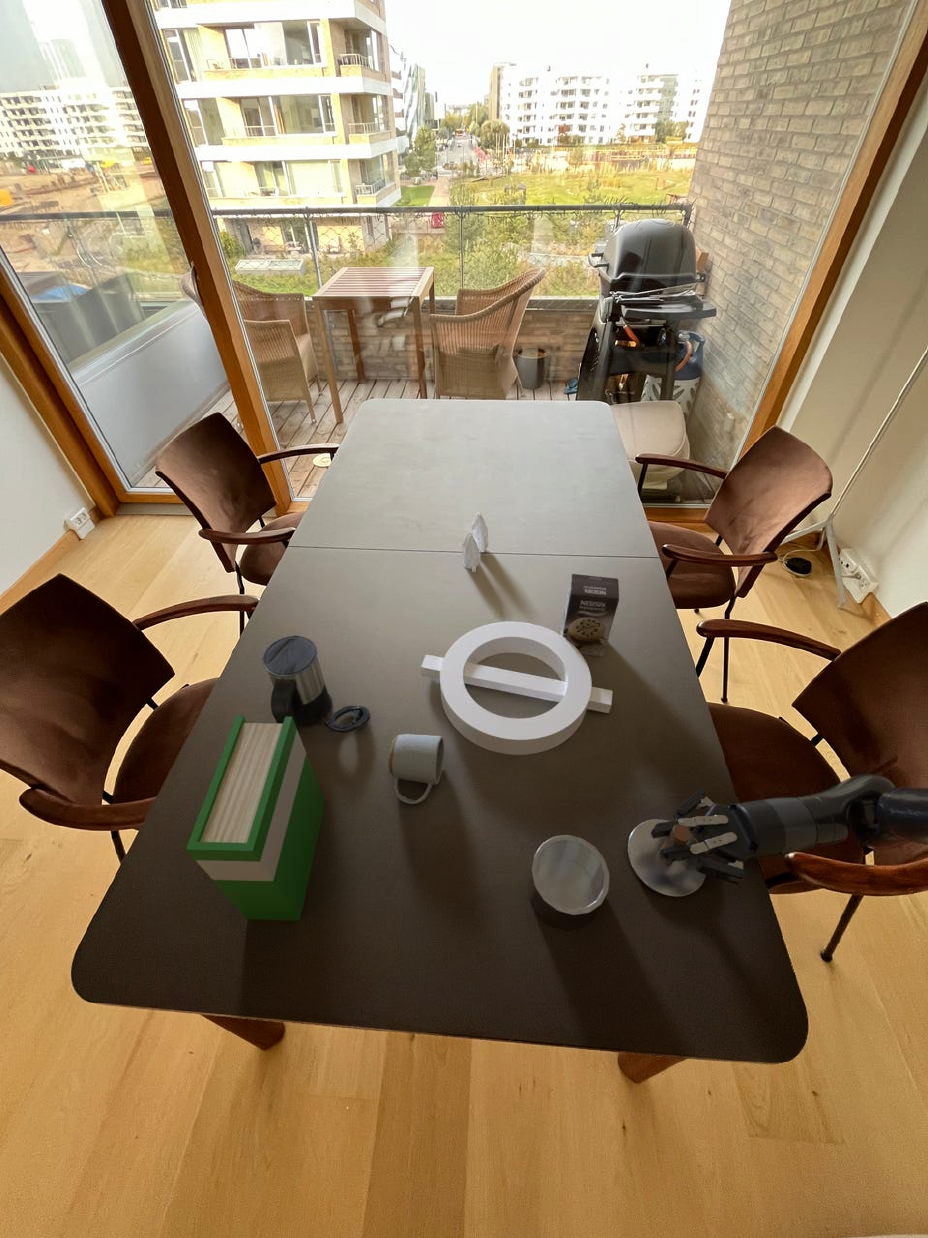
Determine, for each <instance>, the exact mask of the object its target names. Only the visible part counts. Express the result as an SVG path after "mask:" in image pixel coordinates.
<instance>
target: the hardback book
mask: <svg viewBox="0 0 928 1238" xmlns="http://www.w3.org/2000/svg"><path fill="white" fill-rule="evenodd" d="M303 743H304V742H303V741H302V738H301V735H300V736H299V733H298V730H297V728H296V725H295V723H294V720H293V717H285V719H284V722H283V724H277V723H273V722H272V723H269V722H268V723H267V722H266V723H265V722H247V720H246V718H245V716H244V715H236V716H235V719H234V721H233V724H232V726H231V729H230V732H229V734H228V737H227V740H226V742H225V745H224V748H223V750H222V754H221V755H220V759H219V761H218V763H217V766H216V768H215V772H214V774H213V777H212V779H211V782H210V785H209V787H208V789H207V793H206V795H205V798H204V801H203V803H202V806H201V809H200V810H199V813H198V815H197V819H196V821H195V824H194V826H193V830H192V832H191V835H190V837H189V839H188V841H187V845H186V847H185V850H186V852H187V853H188V854H189V855H190V856H191V857H192V858H193V860H194V861H195V862H196V863H197V864H198V865H199V867H200V868H202V870H203V871H204V872H205V874H207V876H208V877H210V879H211V880H212V881H213V882H214V883H215V885H216V886H217V887H218V888H219V889H220V890H221V891H222V892H223V893H224V895H226V897H227V898H228V899H229V900H230V901H231V903H232V904H233V905H234V906H235V908H237V910H239V912H240V913H241V914H242V915H243V917H245V918H246V920H256V921H257V920H259V921H296V922H297V921H298V922H299V921H301V917H302V913H303V908H304V902H305V899H306V894H307V890H308V889H307V888H308V883H309V881H310V874H311V870H312V867H313V862H314V856H315V852H316V847H317V842H318V837H319V833H320V828H321V823H322V818H323V815H324V814H323V813H324V809H325V805H326V801H325V798H324V795H323V793H322V790H321V788H320V784H319V783H318V780H317V778H316V774H315V772H314V770H313V767H312V764H311V761H310V759H309V757H308V754H307V751H306V749H305V746H304V744H303Z"/></svg>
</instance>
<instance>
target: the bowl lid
mask: <svg viewBox="0 0 928 1238" xmlns="http://www.w3.org/2000/svg"><path fill="white" fill-rule="evenodd" d="M669 821H670V820H668V819H661V818H660V819H659V818H656V819H653V818H652V819H649V820H646V821H643V822H641V823H639V824H638V825H637V826H636V827H634V829H633V830H632V832H631V833H630V835H629V837H628V841H627V847H626V850H627V852H626V853H627V858H628V863H629V865H630V868H631V869H632V871H633V873H634V874H635V876H636V877H637V878H638V879H639V881H640V882H641V883H642V884H643V885H644V886H646V887H647V888H648V889H649V890H651V891H653V892H654V893H657V894H659V895H661V896H664V897H669V898H683V897H687V896H690V895H692V894H693V893H696V891H698V890H699V889H700V887H701V886H702V885H703V883H704V881H705V879H706V876H707V875H705V874H702V873H699V872H697V871H696V870H695V865H694V864H693V863H692V862H691V861H689V860H682V861H675V862H667V861H666V860H665V859H661V858H660V856H659V852H660V851H661V849H663V848H668V847H674V846H683V845H687V846H688V847H690V846H692V845H695V844H698V843H699V841H698V840H697V839H696V837H695V835H692V834H690V831H689V829H688V828H687V827H685V826H684V825H676V826H674V828H673V829H672V831H671V832H670V834H669V836H667V837H660V838H652V835H651V831H652V830H653V828H654V827H655V825H656V824H658V823H663V822H669Z"/></svg>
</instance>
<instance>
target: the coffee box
mask: <svg viewBox="0 0 928 1238" xmlns="http://www.w3.org/2000/svg"><path fill="white" fill-rule="evenodd" d="M570 574H571V575H570V581H569V585H568V591H567V596H566V601H565V605H564V611H563V616H562V621H561V627H560V630H559V631H560V633H559V635H561V636H562V637H564V638H565V639H567V640H568V641H569V642H570V643H571V644H573V645H574V646H575V647H576V648H577V650H578V651H579V652H580V653H581V655H585V656H593V657H601V658H603V657H605V656H604V655H605V651H606V647H607V645H608V641H609V638H610V634H611V631H612V626H613V624H614V619H615V616H616V613H617V609H618V605H619V602H620V589H619V588H620V586H619V585H620V584H619V579H618V578H616V577H606V576H597V575H589V574H588V575H587V574H578V573H570Z"/></svg>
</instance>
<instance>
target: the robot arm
mask: <svg viewBox="0 0 928 1238" xmlns="http://www.w3.org/2000/svg"><path fill="white" fill-rule="evenodd" d="M707 795H708V793H707V790H706V789H703V788H700V789H698V790H697V791H696V792H695V793H693V794H692V795H691V796H690V797H689V798H688V799H686V800H685V801H684V802H682V803H681V804H680V805H679V806H678V807H677V808H676V810H675V812H674V813H673V815H672V818H673V820H668V821H669V822H663V823H658V824H656V825H655V827H654V828H653V830H652V831H651V835H652V838H660V837H667V836H669V834H670V832H671V831H672V829H673V828H674V826H676V825H684V826H685V827H687V828H688V829H689V831H690V834H692V835H693V836H696V835H697V836H699V835H700V836H701V837H702V839H703V841H702V842H698V844H695V845H692V846H690V847H688V846H687V845H683V846H674V847H668V848H663V849H661V851H660V852H659V856H660V858H661V859H665V860H666V861H667V862H675V861H682V860H689V861H691V862H692V863H693V864H694V865H695V870H696V871H697V872H699V873H702V874H705V875H706V876H709V877H711V878H714V879H717V880H720V881H724V882H726V883H729V884H730V883H731V884H735V885H739V884H741V882H743V881H744V879H745V878H746V877H747V872H746V870H744V863H745V862H746V861H748V860H752V859H753V860H754V859H759V858H765V857H772V856H778V855H782V856H783V855H789V854H792V853H797V852H801V851H803V850H806V849H811V848H817V847H824V846H830V845H835V844H839V843H842V842H844V841H845V840H846V839H847V838H848V837H849V833H850V829H851V833H852V834H853V837H854V838H855V839H856V840H857V841H858V843H860V844H861V845H863V846H865V847H866V848H869V849H872V850H876V851H877V850H878V851H885V850H892V849H896V848H897V849H898V848H901V847H903V846H906V845H909V844H911V843H912V844H919V845H925V846H928V787H909V786H907V787H904V786H903V787H899V786H898V787H896V786H895V784H894V783H893V782H892V781H891V780H890V779H888V778H887V777H885V776H883V775H880V774H876V773H861V774H856V775H853V776H850V777H849V778H847V779H844V780H841V781H840V782H839V783H837V784H835V785H833V786H831V787H829V788H826V789H825V790H822V791H819V792H816V793H810V794H805V795H798V796H792V797H791V796H789V797H772V798H765V799H758V800H752V801H751V800H750V801H743V802H736V803H731V804H721V803H718V802H717V803H714V802H713V801H712V800H711V799H710V798H709V797H708V796H707ZM695 809H696V810H703V809H706V810H707V811H706V812H705V813H704V815H702V816H701V815H700V816H694V817H687V816H688V815H689V814H690V813H692V812H693V811H694V810H695ZM712 856H717V857H720V858H721V859H724V860H726V861H729V862H728V863H724V862H721V861H718V860H715V859H711V858H709V857H712Z"/></svg>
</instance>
